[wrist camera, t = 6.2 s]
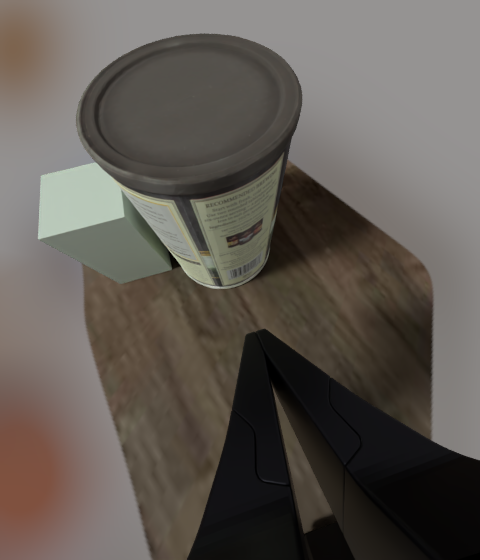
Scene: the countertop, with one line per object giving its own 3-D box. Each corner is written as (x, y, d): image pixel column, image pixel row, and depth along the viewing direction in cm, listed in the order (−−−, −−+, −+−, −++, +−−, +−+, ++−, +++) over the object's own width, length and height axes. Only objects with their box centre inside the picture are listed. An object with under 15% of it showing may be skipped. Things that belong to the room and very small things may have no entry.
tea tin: (172, 269, 22) (124, 216, 13) (120, 284, 21) (38, 239, 13) (163, 226, 24) (116, 155, 15) (116, 238, 23) (40, 174, 15)
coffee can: (212, 193, 25) (172, 13, 12) (286, 232, 23) (342, 65, 10) (156, 258, 22) (23, 120, 9) (235, 309, 20) (213, 226, 7)
